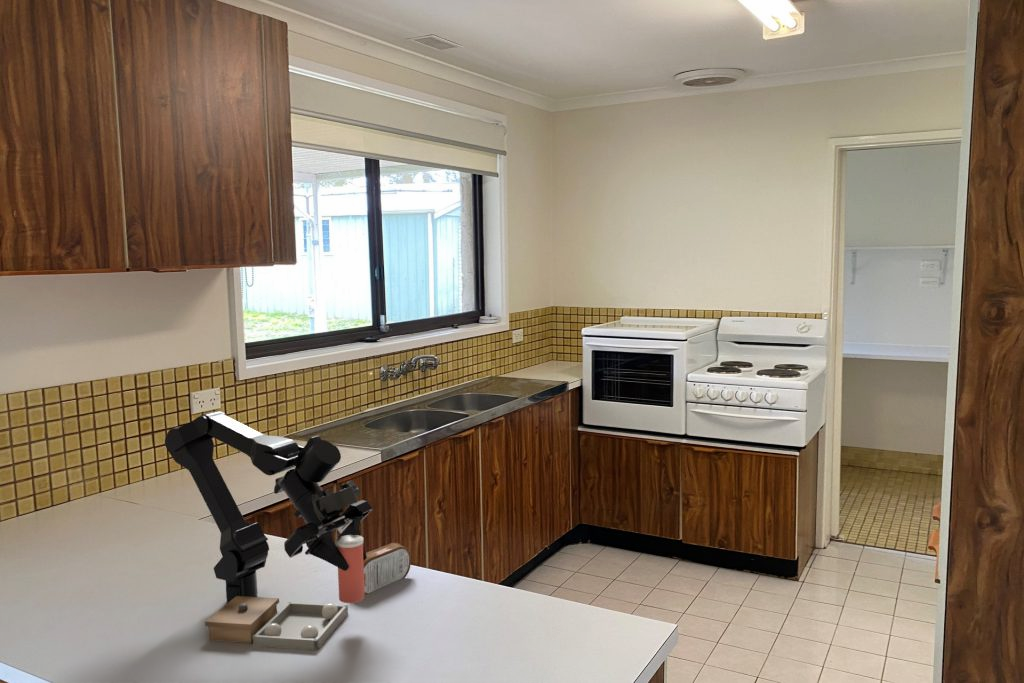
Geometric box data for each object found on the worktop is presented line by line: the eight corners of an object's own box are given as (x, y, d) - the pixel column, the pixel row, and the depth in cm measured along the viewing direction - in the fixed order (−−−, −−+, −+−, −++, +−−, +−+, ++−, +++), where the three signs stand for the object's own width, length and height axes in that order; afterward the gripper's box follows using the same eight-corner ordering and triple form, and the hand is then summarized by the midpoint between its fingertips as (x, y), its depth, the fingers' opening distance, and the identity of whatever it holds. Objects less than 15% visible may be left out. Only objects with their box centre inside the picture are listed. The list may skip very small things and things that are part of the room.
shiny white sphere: (269, 635, 144) (268, 619, 143) (285, 636, 143) (283, 620, 143) (261, 643, 141) (260, 627, 140) (277, 644, 140) (276, 628, 140)
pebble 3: (326, 615, 151) (325, 599, 151) (341, 615, 151) (340, 600, 150) (319, 622, 148) (318, 606, 148) (334, 623, 148) (333, 607, 147)
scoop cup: (345, 590, 148) (343, 534, 147) (369, 593, 147) (367, 535, 146) (333, 602, 144) (331, 543, 142) (358, 604, 143) (356, 545, 141)
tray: (289, 614, 154) (288, 602, 154) (348, 617, 152) (347, 605, 151) (253, 650, 140) (252, 636, 140) (317, 654, 138) (316, 640, 138)
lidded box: (237, 617, 153) (236, 591, 152) (280, 620, 151) (278, 593, 151) (206, 645, 142) (204, 616, 142) (252, 648, 141) (250, 619, 140)
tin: (404, 574, 172) (402, 537, 171) (414, 578, 170) (412, 540, 169) (349, 599, 160) (347, 558, 159) (359, 603, 158) (357, 562, 157)
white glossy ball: (305, 637, 142) (304, 621, 142) (321, 638, 142) (320, 622, 142) (298, 645, 140) (297, 629, 139) (314, 646, 139) (313, 630, 139)
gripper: (293, 484, 137) (345, 557, 133) (363, 458, 153) (411, 523, 149) (262, 521, 141) (311, 593, 137) (333, 492, 158) (379, 556, 154)
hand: (356, 564), depth 144 cm, fingers closed on scoop cup, 5 cm apart
